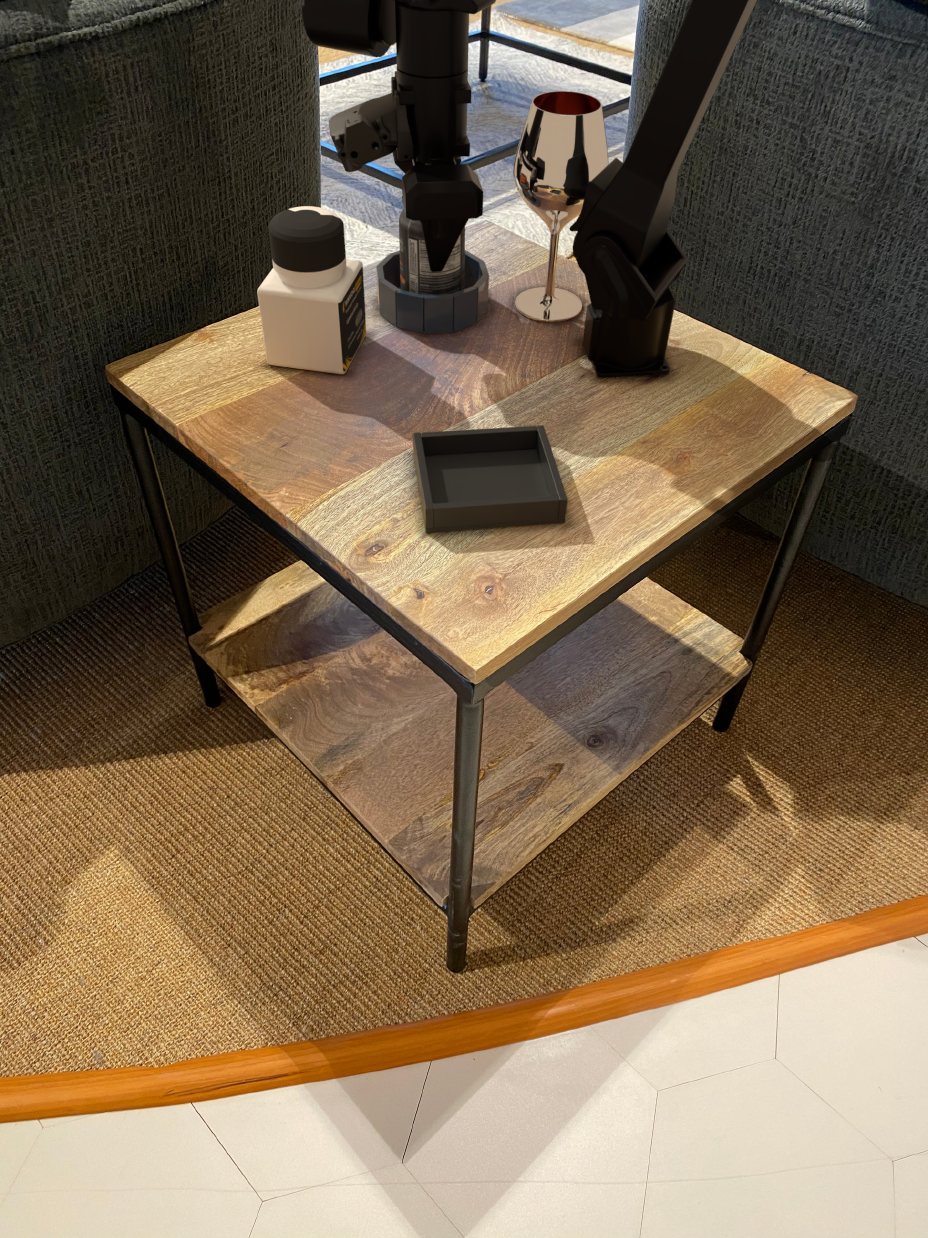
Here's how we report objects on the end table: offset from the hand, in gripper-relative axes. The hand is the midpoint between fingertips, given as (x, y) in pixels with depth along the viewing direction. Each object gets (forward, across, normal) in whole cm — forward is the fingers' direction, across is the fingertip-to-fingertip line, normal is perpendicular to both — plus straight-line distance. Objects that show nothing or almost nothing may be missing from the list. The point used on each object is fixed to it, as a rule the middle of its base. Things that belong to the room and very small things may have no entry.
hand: (432, 254), depth 90 cm
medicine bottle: (+5, +7, -11) cm, 14 cm away
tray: (+5, +28, +1) cm, 28 cm away
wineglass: (+5, +1, +11) cm, 12 cm away
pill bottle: (+5, 0, 0) cm, 5 cm away
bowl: (+5, 0, 0) cm, 5 cm away
